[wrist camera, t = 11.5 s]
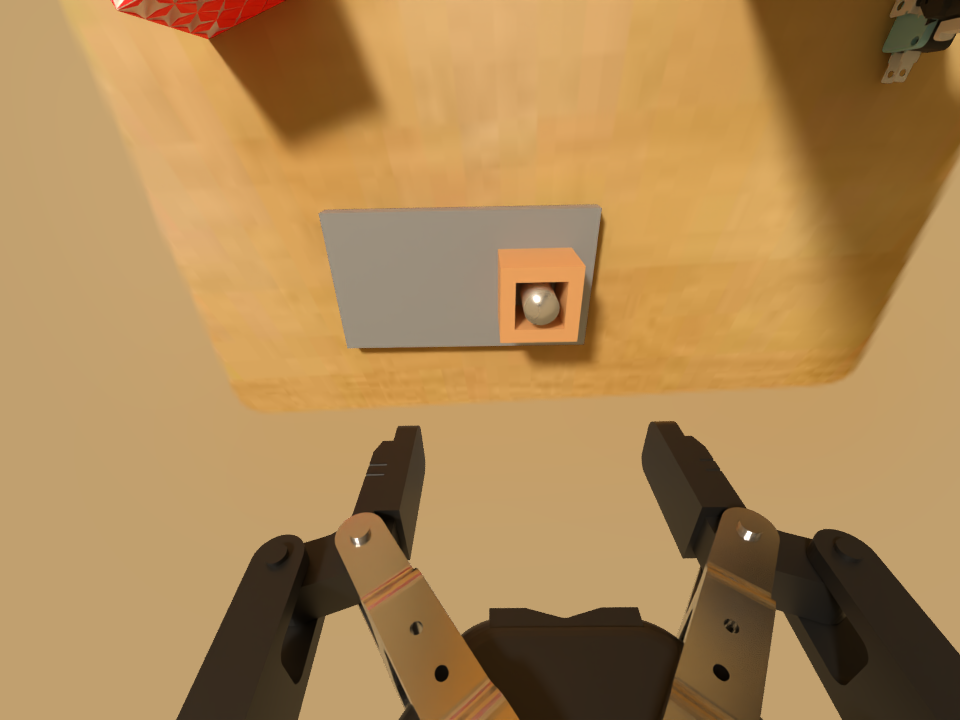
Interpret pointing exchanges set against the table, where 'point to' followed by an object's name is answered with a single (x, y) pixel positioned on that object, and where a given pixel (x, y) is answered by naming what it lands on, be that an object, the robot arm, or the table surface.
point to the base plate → (442, 269)
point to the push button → (919, 33)
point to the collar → (540, 268)
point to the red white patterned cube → (195, 13)
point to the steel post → (539, 302)
